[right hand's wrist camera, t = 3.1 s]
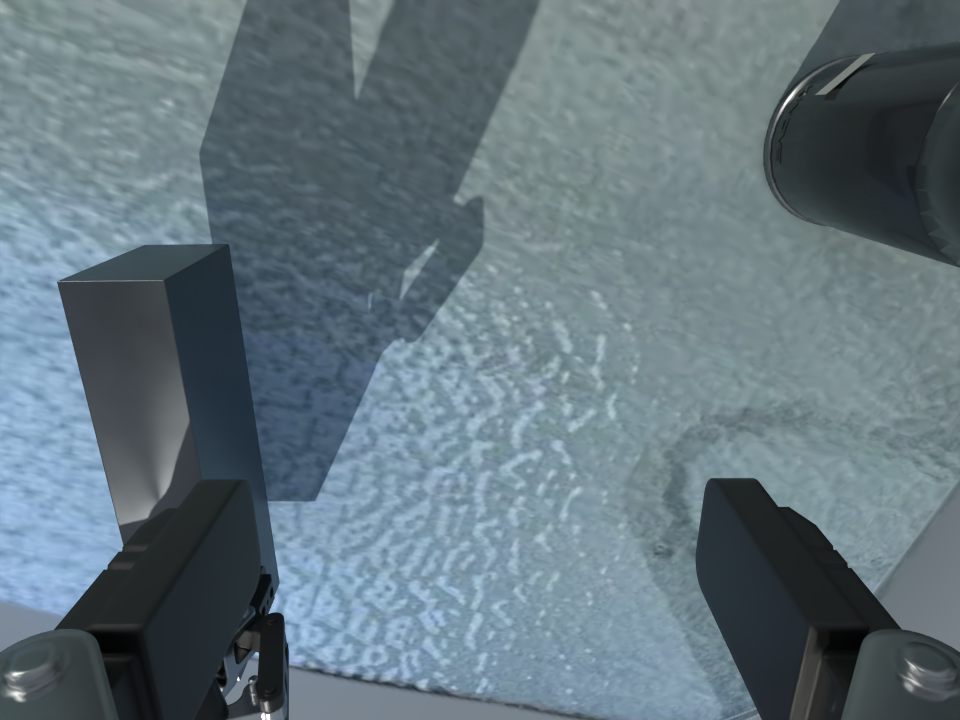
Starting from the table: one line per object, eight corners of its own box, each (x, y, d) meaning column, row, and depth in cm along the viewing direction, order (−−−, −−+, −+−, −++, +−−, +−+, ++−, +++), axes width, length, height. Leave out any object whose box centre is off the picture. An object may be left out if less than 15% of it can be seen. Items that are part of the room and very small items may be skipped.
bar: (144, 244, 36) (56, 281, 29) (229, 243, 36) (164, 280, 29) (211, 584, 45) (157, 682, 37) (279, 583, 45) (240, 680, 37)
